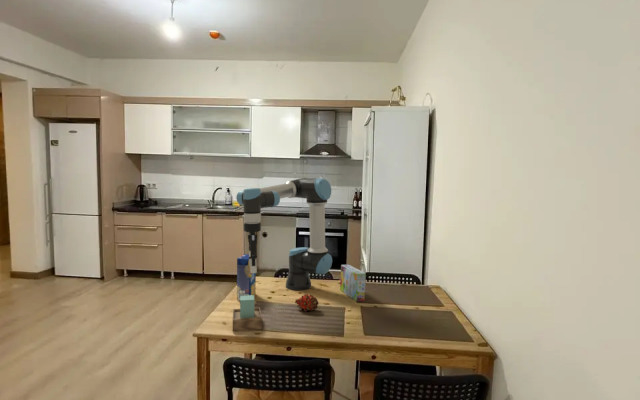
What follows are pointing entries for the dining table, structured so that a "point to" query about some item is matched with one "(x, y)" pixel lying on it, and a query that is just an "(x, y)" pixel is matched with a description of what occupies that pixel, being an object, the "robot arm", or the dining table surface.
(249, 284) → the beverage box
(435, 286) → the dining table surface
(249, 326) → the tray
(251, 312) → the block
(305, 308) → the dragon fruit
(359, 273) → the snack box
